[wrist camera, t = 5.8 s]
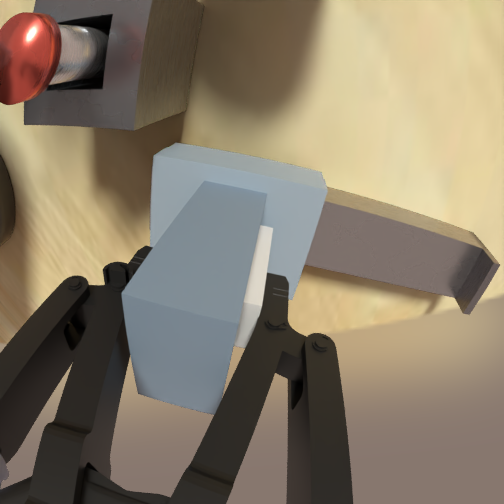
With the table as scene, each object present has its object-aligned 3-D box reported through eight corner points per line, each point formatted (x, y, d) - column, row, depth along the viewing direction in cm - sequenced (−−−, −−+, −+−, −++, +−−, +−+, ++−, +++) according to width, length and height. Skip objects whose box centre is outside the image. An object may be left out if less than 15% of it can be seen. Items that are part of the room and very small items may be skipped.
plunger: (90, 82, 16) (-14, 107, 8) (97, 27, 14) (-8, 23, 6) (142, 83, 16) (41, 102, 8) (151, 23, 14) (52, 3, 6)
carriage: (168, 240, 24) (82, 381, 12) (176, 141, 20) (37, 243, 8) (293, 268, 24) (284, 436, 12) (322, 170, 20) (358, 320, 8)
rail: (164, 212, 25) (138, 243, 20) (168, 154, 22) (139, 175, 18) (449, 278, 24) (469, 314, 20) (473, 232, 22) (500, 264, 17)
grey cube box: (93, 103, 20) (24, 124, 13) (105, 9, 16) (36, -2, 9) (186, 110, 20) (133, 130, 13) (204, 6, 16) (158, -26, 9)
